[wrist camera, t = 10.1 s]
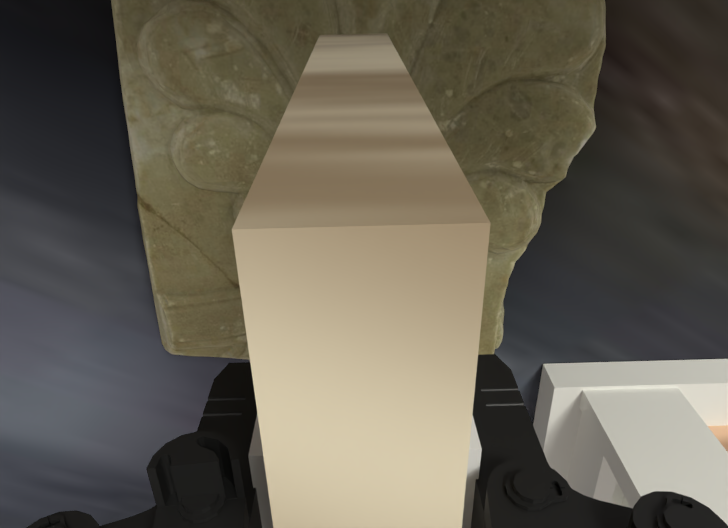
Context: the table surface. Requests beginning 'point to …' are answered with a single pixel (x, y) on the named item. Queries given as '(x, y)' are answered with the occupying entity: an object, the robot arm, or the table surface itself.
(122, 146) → the table surface
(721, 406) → the board rack
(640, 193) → the table surface
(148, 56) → the decorative tile
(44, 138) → the table surface
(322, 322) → the birch board
